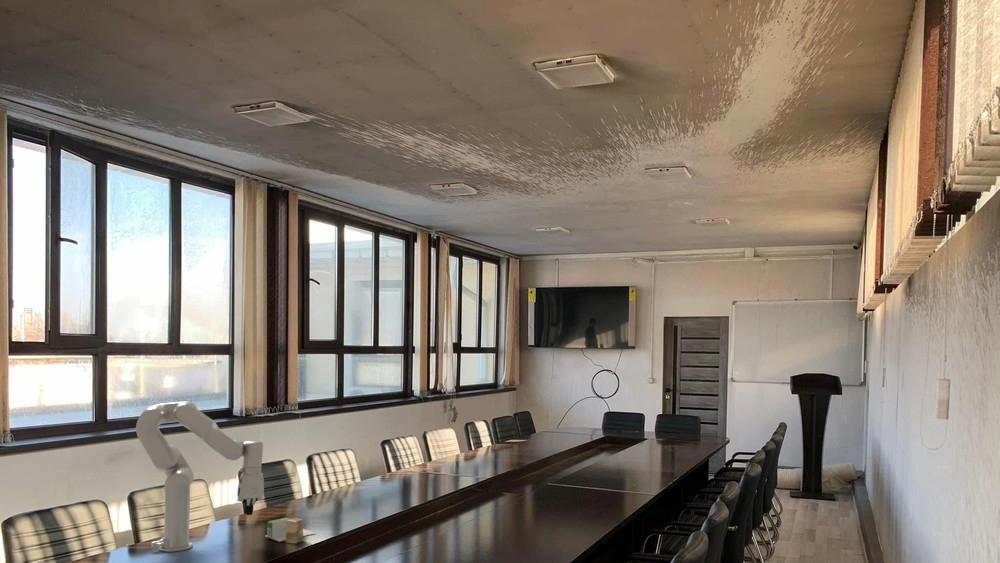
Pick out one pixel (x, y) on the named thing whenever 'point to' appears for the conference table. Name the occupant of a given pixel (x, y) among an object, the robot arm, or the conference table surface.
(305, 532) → the felt mat
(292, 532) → the oak block
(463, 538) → the conference table surface
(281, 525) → the ink box
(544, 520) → the conference table surface
